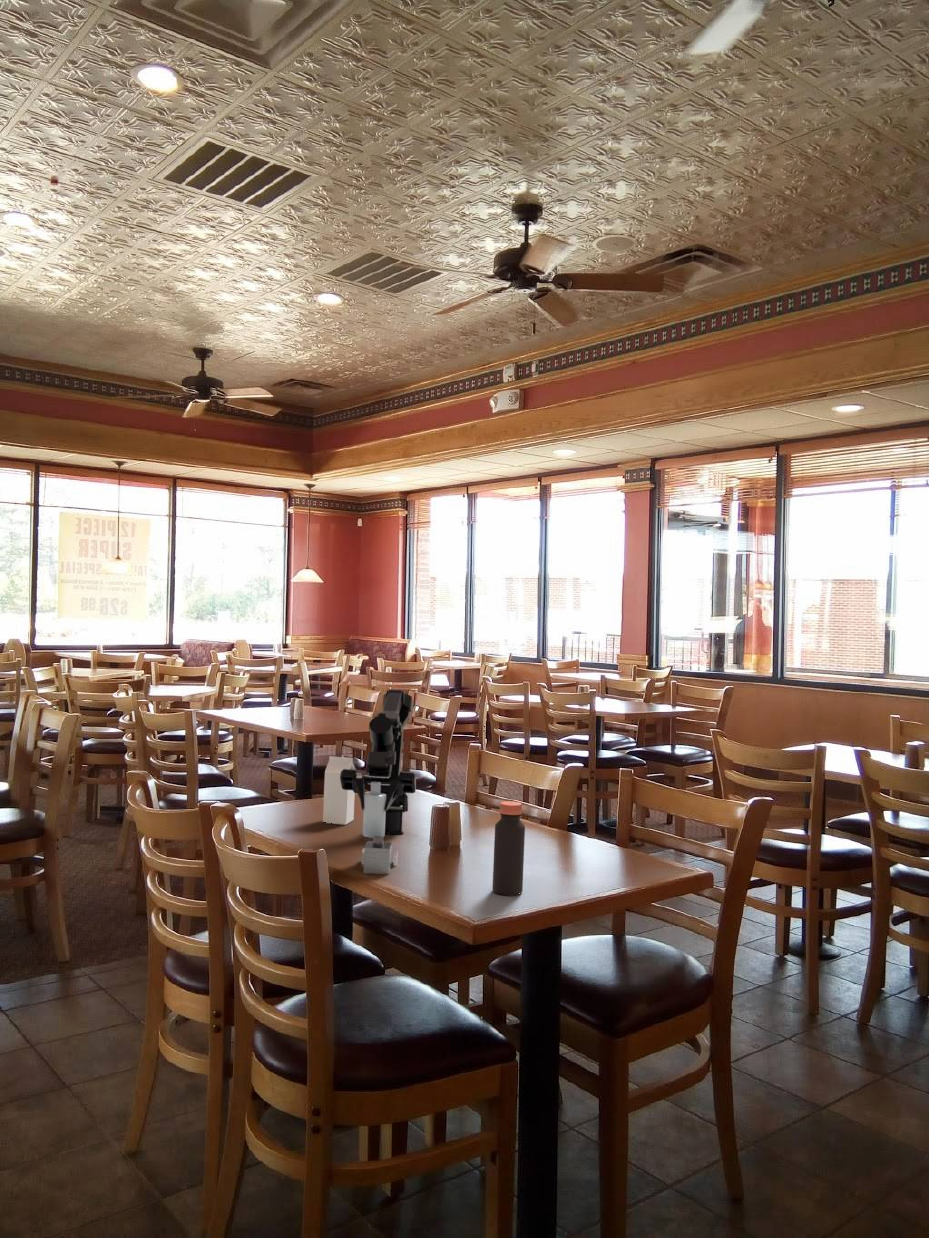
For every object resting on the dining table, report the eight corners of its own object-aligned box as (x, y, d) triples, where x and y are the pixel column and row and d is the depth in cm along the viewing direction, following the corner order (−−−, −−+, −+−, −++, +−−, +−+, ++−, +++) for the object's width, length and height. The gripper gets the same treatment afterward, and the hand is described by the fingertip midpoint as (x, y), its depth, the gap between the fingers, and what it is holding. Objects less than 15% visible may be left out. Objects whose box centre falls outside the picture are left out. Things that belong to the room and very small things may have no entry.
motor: (362, 860, 237) (364, 828, 237) (397, 861, 237) (398, 829, 237) (357, 872, 225) (359, 839, 225) (394, 874, 225) (395, 840, 225)
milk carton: (345, 825, 276) (348, 759, 276) (322, 823, 277) (325, 757, 277) (353, 820, 283) (356, 756, 283) (330, 818, 284) (333, 754, 284)
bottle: (518, 887, 219) (522, 800, 219) (525, 896, 212) (529, 806, 212) (489, 887, 218) (493, 800, 218) (495, 896, 211) (499, 806, 211)
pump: (377, 831, 240) (380, 779, 239) (388, 836, 235) (390, 783, 235) (358, 833, 236) (360, 781, 236) (369, 838, 232) (371, 785, 232)
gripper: (342, 736, 240) (333, 788, 229) (416, 740, 239) (410, 792, 228) (346, 763, 248) (337, 814, 237) (418, 766, 247) (412, 818, 236)
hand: (374, 809), depth 234 cm, fingers closed on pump, 5 cm apart
